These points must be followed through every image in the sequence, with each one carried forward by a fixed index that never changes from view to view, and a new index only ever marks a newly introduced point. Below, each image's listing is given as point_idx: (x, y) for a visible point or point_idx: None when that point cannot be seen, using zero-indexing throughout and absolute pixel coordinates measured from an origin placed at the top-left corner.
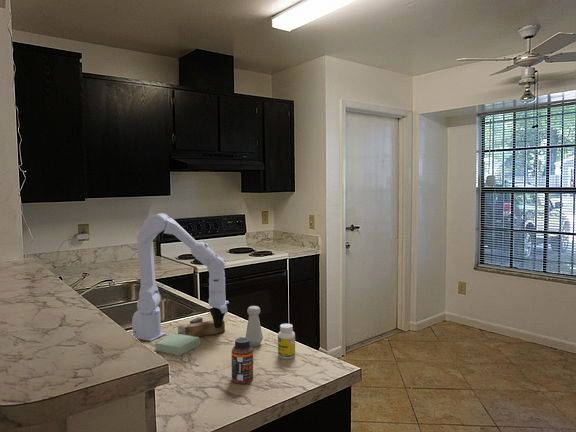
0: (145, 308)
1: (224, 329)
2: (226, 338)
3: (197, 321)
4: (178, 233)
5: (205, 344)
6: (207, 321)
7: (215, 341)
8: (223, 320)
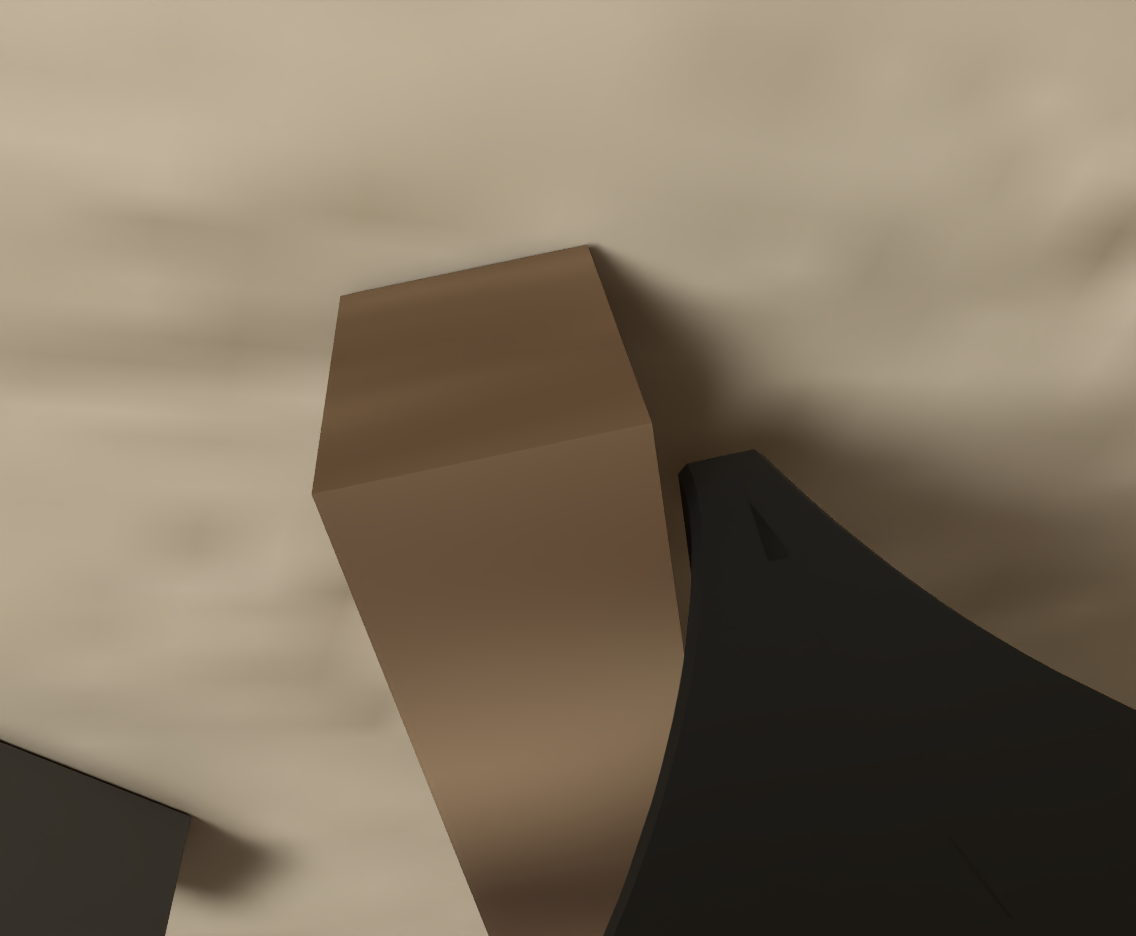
0: None
1: (601, 285)
2: (1053, 252)
3: (41, 926)
4: None
5: (1104, 653)
6: (475, 855)
7: (1077, 496)
8: (537, 452)
